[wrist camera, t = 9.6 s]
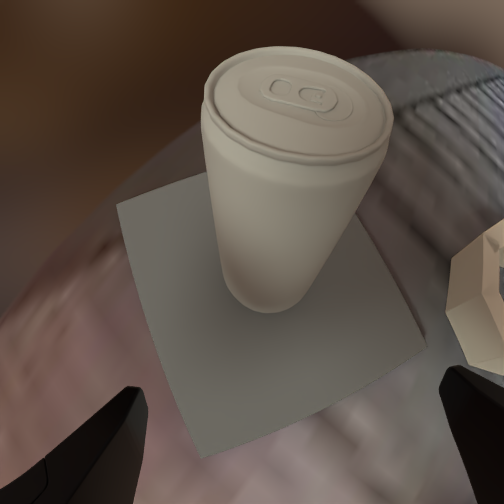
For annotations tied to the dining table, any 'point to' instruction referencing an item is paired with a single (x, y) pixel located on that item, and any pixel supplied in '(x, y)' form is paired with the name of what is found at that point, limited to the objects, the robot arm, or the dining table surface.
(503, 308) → the holder ring
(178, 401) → the rubber mat
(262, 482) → the dining table surface
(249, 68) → the beverage can
